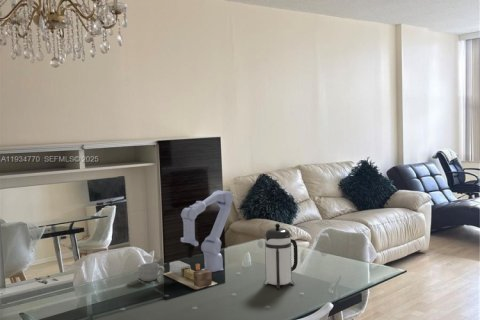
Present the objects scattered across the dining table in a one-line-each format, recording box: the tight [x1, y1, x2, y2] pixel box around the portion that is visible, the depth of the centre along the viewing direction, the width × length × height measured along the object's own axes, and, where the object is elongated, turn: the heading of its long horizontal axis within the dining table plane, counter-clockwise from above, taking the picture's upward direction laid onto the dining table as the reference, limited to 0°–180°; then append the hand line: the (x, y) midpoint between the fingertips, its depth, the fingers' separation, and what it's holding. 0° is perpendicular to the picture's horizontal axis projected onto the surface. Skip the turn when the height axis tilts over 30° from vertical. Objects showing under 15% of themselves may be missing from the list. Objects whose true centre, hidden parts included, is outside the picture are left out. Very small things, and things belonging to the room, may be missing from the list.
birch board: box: [162, 271, 218, 290], centre depth 246 cm, size 13×33×1 cm, turn 37°
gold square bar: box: [183, 263, 201, 280], centre depth 242 cm, size 3×19×8 cm, turn 37°
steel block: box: [169, 260, 192, 278], centre depth 253 cm, size 6×12×6 cm, turn 37°
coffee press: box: [263, 223, 299, 290], centre depth 234 cm, size 17×16×30 cm
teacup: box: [137, 262, 165, 282], centre depth 246 cm, size 14×11×8 cm
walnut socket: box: [194, 268, 213, 289], centre depth 235 cm, size 7×5×6 cm
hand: (189, 257), depth 249 cm, fingers closed
